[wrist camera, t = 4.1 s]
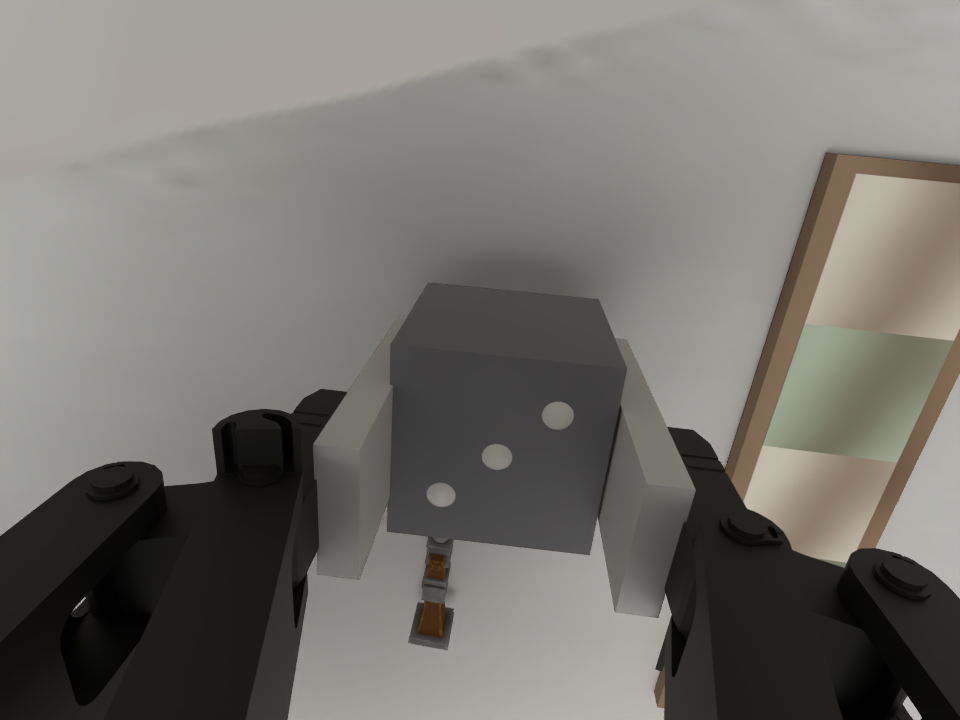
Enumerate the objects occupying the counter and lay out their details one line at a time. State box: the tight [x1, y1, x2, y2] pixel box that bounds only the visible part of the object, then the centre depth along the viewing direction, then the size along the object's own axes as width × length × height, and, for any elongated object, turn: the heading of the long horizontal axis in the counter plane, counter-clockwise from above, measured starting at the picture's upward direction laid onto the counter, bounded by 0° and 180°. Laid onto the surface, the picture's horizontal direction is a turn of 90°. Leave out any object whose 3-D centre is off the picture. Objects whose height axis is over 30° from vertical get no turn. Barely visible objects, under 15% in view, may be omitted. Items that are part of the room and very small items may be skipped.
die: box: [387, 283, 627, 555], centre depth 13 cm, size 5×4×5 cm
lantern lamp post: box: [408, 536, 455, 650], centre depth 24 cm, size 4×2×8 cm
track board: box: [654, 153, 960, 708], centre depth 23 cm, size 6×26×1 cm, turn 175°
